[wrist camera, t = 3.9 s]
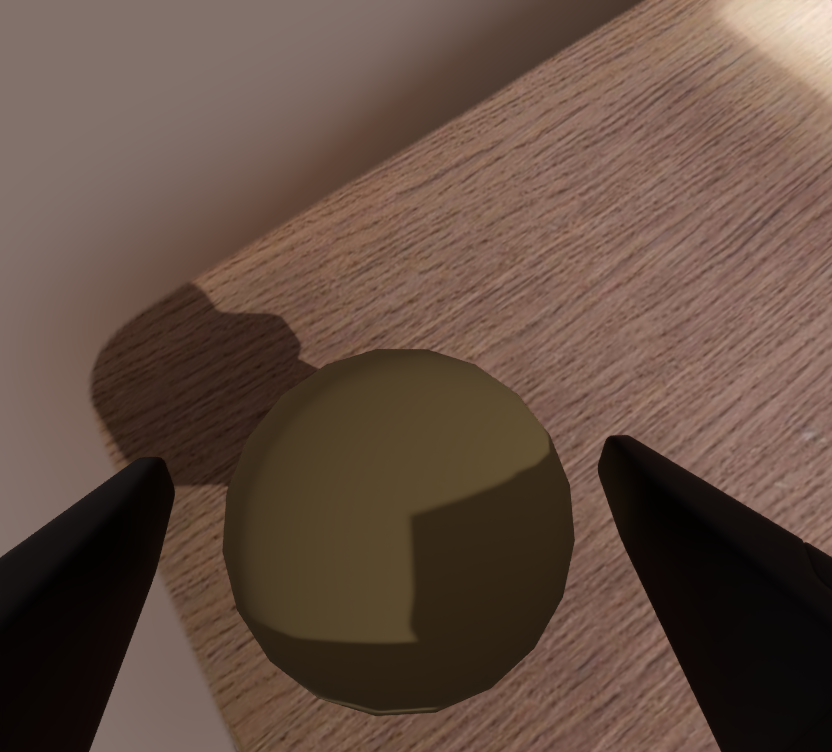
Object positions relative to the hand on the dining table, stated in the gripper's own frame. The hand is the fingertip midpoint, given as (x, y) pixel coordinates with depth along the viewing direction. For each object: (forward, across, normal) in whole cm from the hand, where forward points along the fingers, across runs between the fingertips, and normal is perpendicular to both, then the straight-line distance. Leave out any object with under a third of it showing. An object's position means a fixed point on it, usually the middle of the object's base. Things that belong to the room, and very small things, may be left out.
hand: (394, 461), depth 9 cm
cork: (+5, 0, +6) cm, 7 cm away
